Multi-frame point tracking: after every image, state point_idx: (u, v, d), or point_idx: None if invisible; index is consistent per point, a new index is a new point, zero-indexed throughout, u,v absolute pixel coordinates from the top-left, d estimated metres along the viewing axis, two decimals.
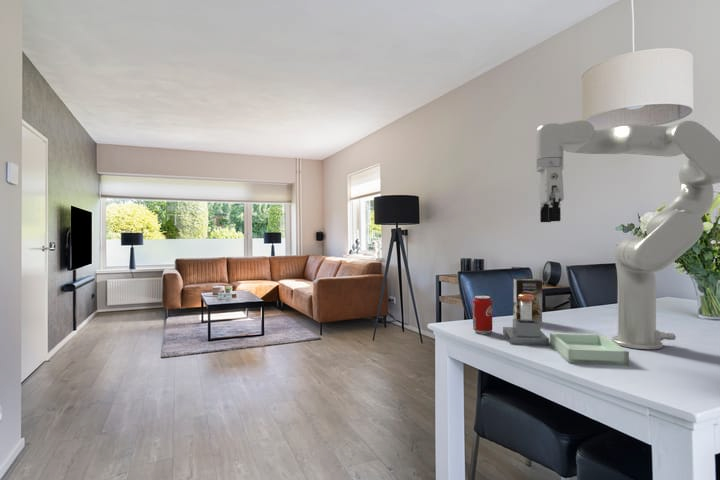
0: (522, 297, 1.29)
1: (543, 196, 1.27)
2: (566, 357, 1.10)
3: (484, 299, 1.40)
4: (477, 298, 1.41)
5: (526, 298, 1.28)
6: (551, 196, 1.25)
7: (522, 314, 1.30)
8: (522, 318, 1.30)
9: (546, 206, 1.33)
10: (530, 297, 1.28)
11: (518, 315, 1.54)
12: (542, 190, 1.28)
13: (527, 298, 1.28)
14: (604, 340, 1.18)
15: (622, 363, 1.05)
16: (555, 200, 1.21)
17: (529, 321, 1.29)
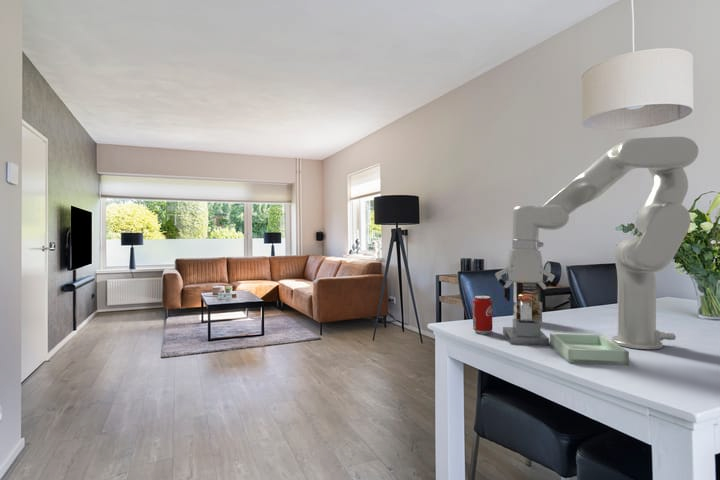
0: (522, 297, 1.29)
1: (531, 277, 1.28)
2: (566, 357, 1.10)
3: (484, 299, 1.40)
4: (477, 298, 1.41)
5: (526, 298, 1.28)
6: None
7: (522, 314, 1.30)
8: (522, 318, 1.30)
9: None
10: (530, 297, 1.28)
11: (518, 315, 1.54)
12: (530, 271, 1.28)
13: (527, 298, 1.28)
14: (604, 340, 1.18)
15: (622, 363, 1.05)
16: (550, 282, 1.28)
17: (529, 321, 1.29)
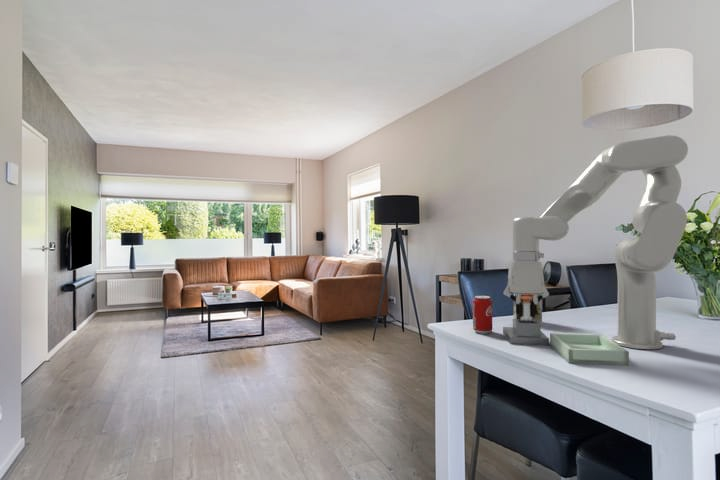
0: (522, 297, 1.29)
1: (532, 288, 1.28)
2: (566, 357, 1.10)
3: (484, 299, 1.40)
4: (477, 298, 1.41)
5: (526, 298, 1.28)
6: None
7: (522, 314, 1.30)
8: (522, 318, 1.30)
9: None
10: (530, 297, 1.28)
11: None
12: (531, 282, 1.28)
13: (527, 298, 1.28)
14: (604, 340, 1.18)
15: (622, 363, 1.05)
16: (542, 297, 1.29)
17: (529, 321, 1.29)
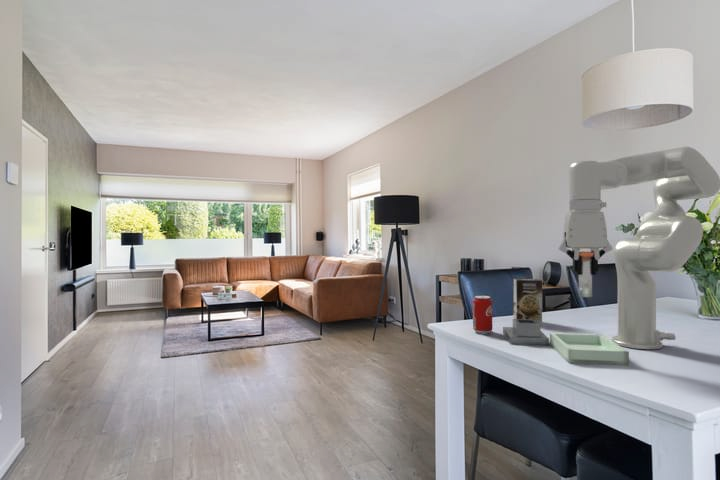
0: (581, 254, 1.14)
1: (593, 241, 1.13)
2: (566, 357, 1.10)
3: (484, 299, 1.40)
4: (477, 298, 1.41)
5: (587, 254, 1.13)
6: None
7: (581, 273, 1.14)
8: (581, 278, 1.14)
9: None
10: (591, 254, 1.13)
11: (518, 315, 1.54)
12: (592, 235, 1.12)
13: (587, 255, 1.13)
14: (604, 340, 1.18)
15: (622, 363, 1.05)
16: None
17: (589, 281, 1.14)
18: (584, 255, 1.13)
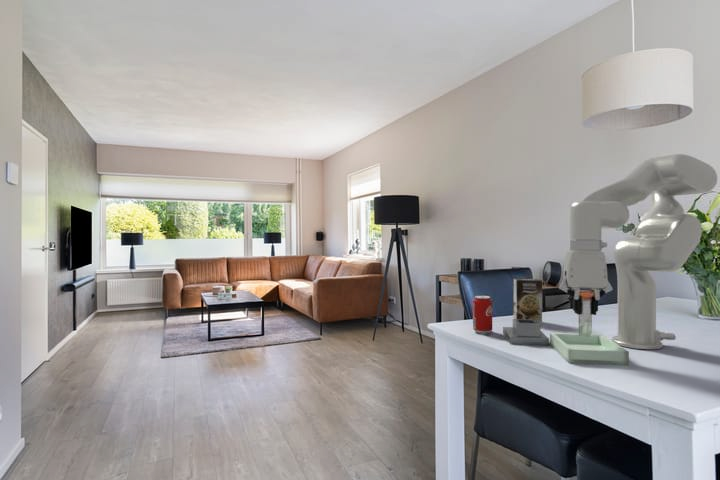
0: (582, 294, 1.13)
1: (594, 282, 1.12)
2: (566, 357, 1.10)
3: (484, 299, 1.40)
4: (477, 298, 1.41)
5: (587, 294, 1.13)
6: None
7: (581, 313, 1.14)
8: (581, 318, 1.14)
9: None
10: (591, 294, 1.13)
11: (518, 315, 1.54)
12: (592, 275, 1.12)
13: (588, 295, 1.13)
14: (604, 340, 1.18)
15: (622, 363, 1.05)
16: None
17: (589, 321, 1.13)
18: (584, 295, 1.13)
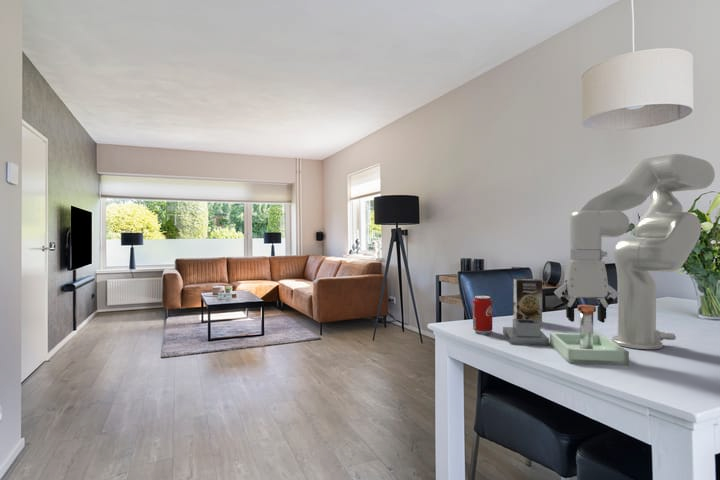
0: (583, 309, 1.14)
1: (594, 291, 1.13)
2: (566, 357, 1.10)
3: (484, 299, 1.40)
4: (477, 298, 1.41)
5: (588, 310, 1.13)
6: None
7: (582, 328, 1.14)
8: (582, 332, 1.14)
9: None
10: (593, 309, 1.13)
11: (518, 315, 1.54)
12: (593, 285, 1.12)
13: (589, 310, 1.13)
14: (604, 340, 1.18)
15: (622, 363, 1.05)
16: None
17: (591, 336, 1.14)
18: (586, 310, 1.13)
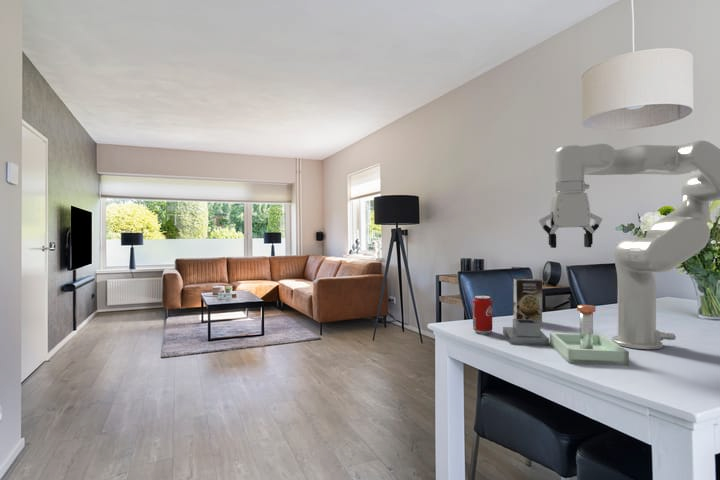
0: (583, 309, 1.14)
1: (578, 221, 1.21)
2: (566, 357, 1.10)
3: (484, 299, 1.40)
4: (477, 298, 1.41)
5: (588, 310, 1.13)
6: None
7: (582, 328, 1.14)
8: (582, 332, 1.14)
9: None
10: (592, 309, 1.13)
11: (518, 315, 1.54)
12: (577, 214, 1.21)
13: (589, 310, 1.13)
14: (604, 340, 1.18)
15: (622, 363, 1.05)
16: None
17: (591, 336, 1.14)
18: (585, 310, 1.13)
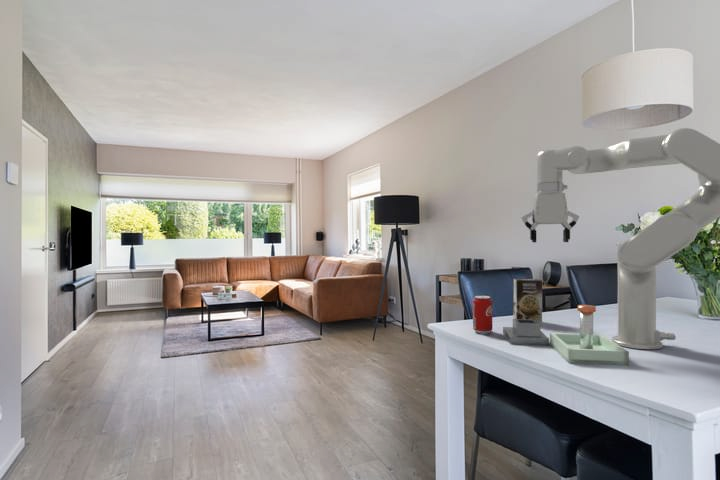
0: (583, 309, 1.13)
1: (556, 218, 1.34)
2: (566, 357, 1.10)
3: (484, 299, 1.40)
4: (477, 298, 1.41)
5: (588, 310, 1.13)
6: None
7: (582, 328, 1.14)
8: (582, 332, 1.14)
9: None
10: (593, 309, 1.13)
11: (518, 315, 1.54)
12: (555, 212, 1.34)
13: (589, 310, 1.13)
14: (604, 340, 1.18)
15: (622, 363, 1.05)
16: (575, 223, 1.34)
17: (591, 336, 1.14)
18: (586, 310, 1.13)
